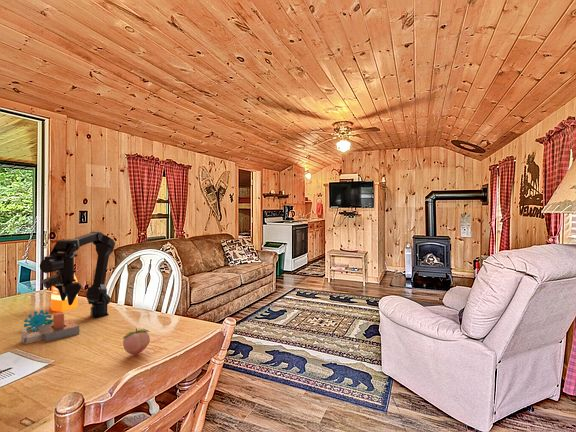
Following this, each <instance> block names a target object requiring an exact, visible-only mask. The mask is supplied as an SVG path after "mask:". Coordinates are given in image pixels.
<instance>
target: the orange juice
mask: <svg viewBox="0 0 576 432" xmlns="http://www.w3.org/2000/svg"><path fill="white" fill-rule="evenodd" d="M74 279H76V282H78V279H77V277H76V274H74ZM78 283H79V282H78ZM50 296H51V298H50V299H51V311H53V312H58V313H60V312H62V313H64V312H66V311H69V310H73V309H75V308H78V297H79V296H78V294H77V296H76V297H75V299H74V301H73V303H72V305H68V300H67V296H66V299H65V301H62V300H61V297H60V294H59V291H58V289H57V288H55V287H54V286H52V287H51V295H50Z"/></svg>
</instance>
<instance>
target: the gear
mask: <svg viewBox="0 0 576 432" xmlns="http://www.w3.org/2000/svg"><path fill="white" fill-rule="evenodd" d="M33 314H34V315H32V314H31V313H29V314H27V317H28V318H29V319H30V320H29V319H28V318H25V319H24V320H23V322H25V323H23V327H24V328H26V331H27V332H28V331H31V332H32V333H36V332H37V327H38V326H43V325H47V324H52V323H53V318H52V314H50V313H49V311H48V310H47V311H44V310H43V309H41V310H39V313H38V310H36V311H35V310H34V311H33ZM48 318H49V319H48ZM51 318H52V319H51Z"/></svg>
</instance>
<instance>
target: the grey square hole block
mask: <svg viewBox="0 0 576 432" xmlns="http://www.w3.org/2000/svg"><path fill="white" fill-rule="evenodd" d="M36 332H41V333H42V334H43V340H42V341H43V342H44V343H49V342H53V341H57V340H62V339H65V338H68V337H73V336H77V335H80V325H79V324H78V323H76V322H74V321H73V320H72V319H66V320H65V319H64V327H61V328H57V329H53V323H52V324H47V325H45V324H43V325H42V326H38V327H37V329H36Z"/></svg>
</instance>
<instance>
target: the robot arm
mask: <svg viewBox="0 0 576 432" xmlns="http://www.w3.org/2000/svg"><path fill="white" fill-rule="evenodd" d="M91 243H92V244H93V245H94V246H95V252H96V254H97V258H96V264H95V271H94V276H93V282H92V284H91V286H88V287H87V290H86V294H85V296H86V299H87V302H88V305H91V307H90V313H89V314H90V317H92V318H94V319H97V318H101V317H106V316H109V313H108V304H110V303H111V299H112V298H111V296H110V295H109V294H108V289H107V286H106V284H105V283H106V277H107V271H108V263H109V258H110V256H111V254H112V253H113V252H114V251H115V250H114V249H115V245H116V241H115V240H114V238H111V237H109V236H107V235H105V234H104V233H103V232H101V231H90V232H88V233H86V234H83V235H80V236H78V237H75V238H64V239H59V240H56V242H55V244H54V246H53V248H52V249H51V251H50V253H49V255H46V256H44V257H43V260H42V261H40V264H39V268H40V269H39V270H40V271H41V272H42V273H44V274H49V273H53V272H55V274H54V275H50V276H48V277H46V278H44V279H42V280H41V283H42V285H43V286H44V288H46V289H50V288H51V289H52V286H54V287H55V288H57V289H58V291H59V294H60V297H61V300H62V301H65V299H66V296H67V300H68V305H72V303H73V301H74V299H75V297H76V296H77V294H78V293H79V292H80V291H81V290H82V289H83V288H82V287H83V286H82V284H81V283H80V282H76V279H77V278H76V279H74V275H75V273H76V271H77V270H76V269H75V258H77V257H78V256H79V255H78V254H77V253H76V252H77V251H79V249H80V248H81V247H83V246H86V245H87V244H91ZM77 297H78V296H77Z"/></svg>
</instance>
